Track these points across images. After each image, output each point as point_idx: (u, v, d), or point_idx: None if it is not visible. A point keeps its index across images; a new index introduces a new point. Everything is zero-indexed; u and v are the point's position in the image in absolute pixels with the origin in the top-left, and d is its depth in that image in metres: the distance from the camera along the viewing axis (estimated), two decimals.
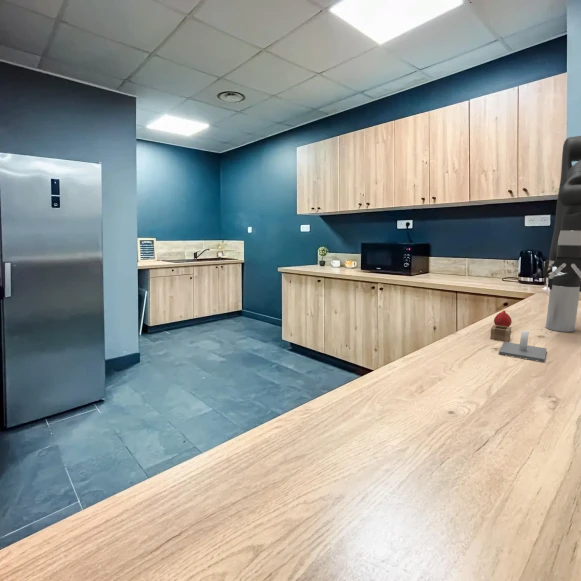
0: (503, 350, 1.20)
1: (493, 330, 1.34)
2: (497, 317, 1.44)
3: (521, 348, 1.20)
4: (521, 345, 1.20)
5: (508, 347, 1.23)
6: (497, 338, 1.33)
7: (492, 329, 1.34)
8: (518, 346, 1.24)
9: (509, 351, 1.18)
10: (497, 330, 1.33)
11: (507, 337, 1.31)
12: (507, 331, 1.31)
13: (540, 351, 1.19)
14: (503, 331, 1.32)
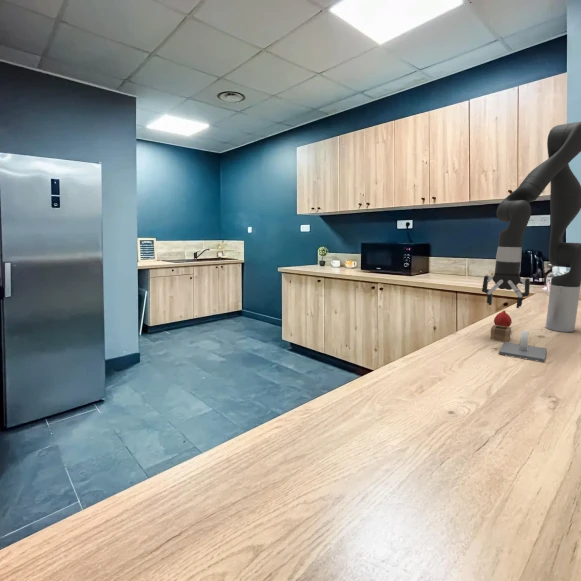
0: (503, 350, 1.20)
1: (493, 330, 1.34)
2: (497, 317, 1.44)
3: (521, 348, 1.20)
4: (521, 345, 1.20)
5: (508, 347, 1.23)
6: (497, 338, 1.33)
7: (492, 329, 1.34)
8: (518, 346, 1.24)
9: (509, 351, 1.18)
10: (497, 330, 1.33)
11: (507, 337, 1.31)
12: (507, 331, 1.31)
13: (540, 351, 1.19)
14: (503, 331, 1.32)
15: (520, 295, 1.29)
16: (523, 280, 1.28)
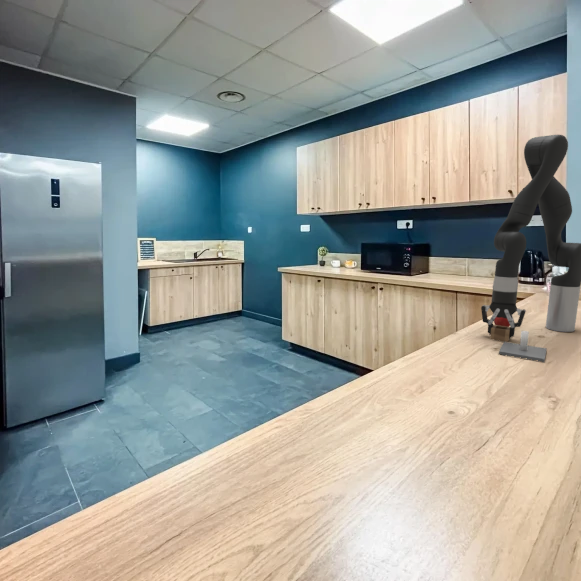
0: (503, 350, 1.20)
1: (493, 330, 1.34)
2: (497, 317, 1.44)
3: (521, 348, 1.20)
4: (521, 345, 1.20)
5: (508, 347, 1.23)
6: (497, 338, 1.33)
7: (492, 329, 1.34)
8: (518, 346, 1.24)
9: (509, 351, 1.18)
10: (497, 330, 1.33)
11: (507, 337, 1.31)
12: (507, 331, 1.31)
13: (540, 351, 1.19)
14: (503, 331, 1.32)
15: (512, 325, 1.31)
16: (519, 311, 1.30)
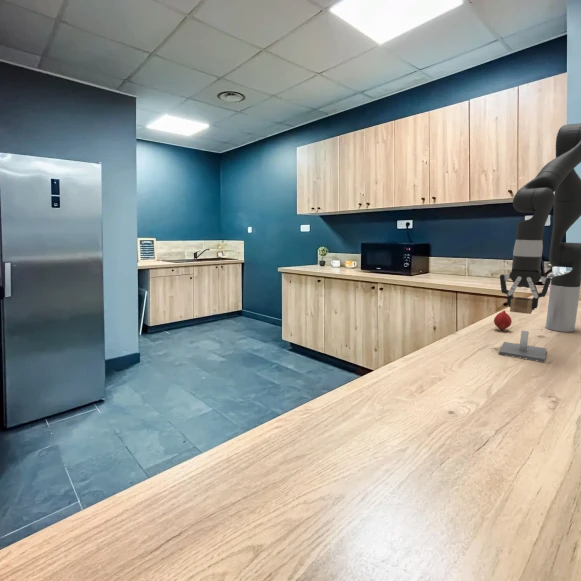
0: (503, 350, 1.20)
1: (513, 301, 1.19)
2: (497, 317, 1.44)
3: (521, 348, 1.20)
4: (521, 345, 1.20)
5: (508, 347, 1.23)
6: (518, 310, 1.18)
7: (512, 300, 1.19)
8: (518, 346, 1.24)
9: (509, 351, 1.18)
10: (518, 301, 1.18)
11: (529, 309, 1.16)
12: (530, 302, 1.16)
13: (540, 351, 1.19)
14: (525, 302, 1.17)
15: (536, 295, 1.16)
16: (544, 278, 1.15)
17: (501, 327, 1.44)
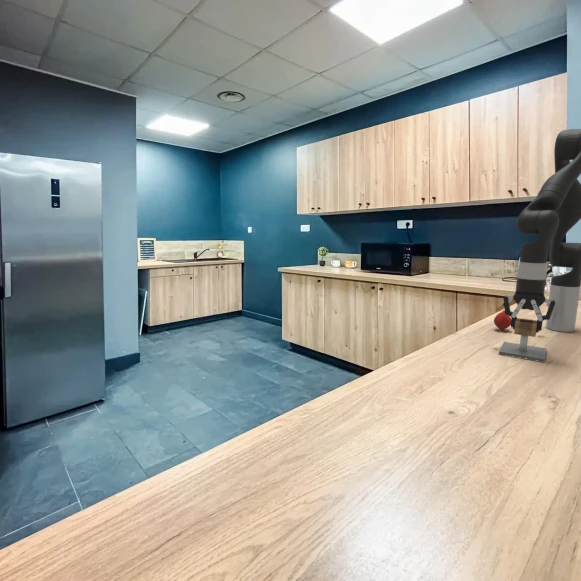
0: (503, 350, 1.20)
1: (518, 324, 1.17)
2: (497, 317, 1.44)
3: (521, 348, 1.20)
4: (521, 345, 1.20)
5: (508, 347, 1.23)
6: (522, 333, 1.17)
7: (516, 323, 1.18)
8: (518, 346, 1.24)
9: (509, 351, 1.18)
10: (522, 324, 1.17)
11: (534, 332, 1.15)
12: (534, 325, 1.15)
13: (540, 351, 1.19)
14: (529, 325, 1.16)
15: (540, 318, 1.15)
16: (548, 301, 1.14)
17: (501, 327, 1.44)
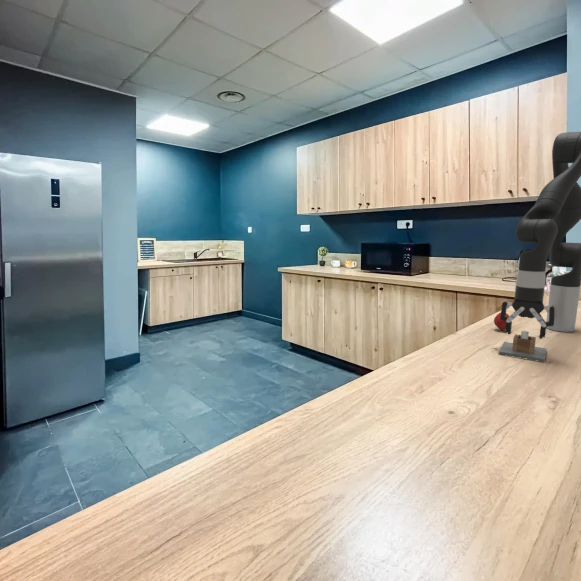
0: (503, 350, 1.20)
1: (516, 341, 1.19)
2: (497, 317, 1.44)
3: None
4: None
5: (508, 347, 1.23)
6: (520, 350, 1.18)
7: (514, 339, 1.19)
8: None
9: (509, 351, 1.18)
10: (520, 341, 1.18)
11: (532, 349, 1.16)
12: (532, 342, 1.16)
13: (540, 351, 1.19)
14: (527, 342, 1.17)
15: (544, 325, 1.15)
16: (547, 308, 1.14)
17: (501, 327, 1.44)
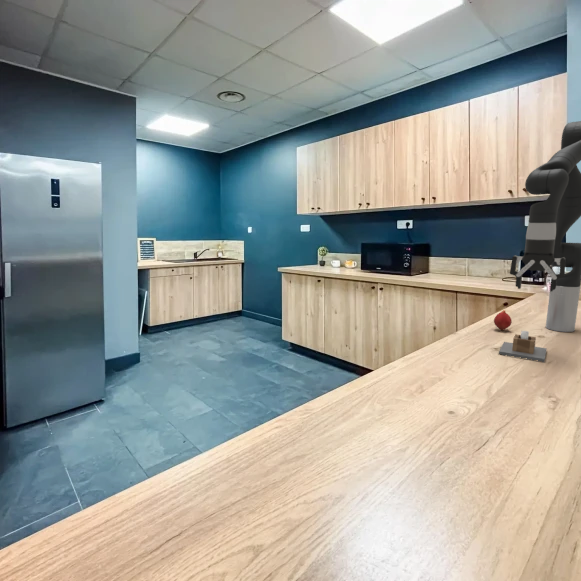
0: (503, 350, 1.20)
1: (516, 341, 1.19)
2: (497, 317, 1.44)
3: None
4: None
5: (508, 347, 1.23)
6: (520, 350, 1.18)
7: (514, 339, 1.19)
8: None
9: (509, 351, 1.18)
10: (520, 341, 1.18)
11: (532, 349, 1.16)
12: (532, 342, 1.16)
13: (540, 351, 1.19)
14: (527, 342, 1.17)
15: (554, 277, 1.15)
16: (558, 260, 1.14)
17: (501, 327, 1.44)
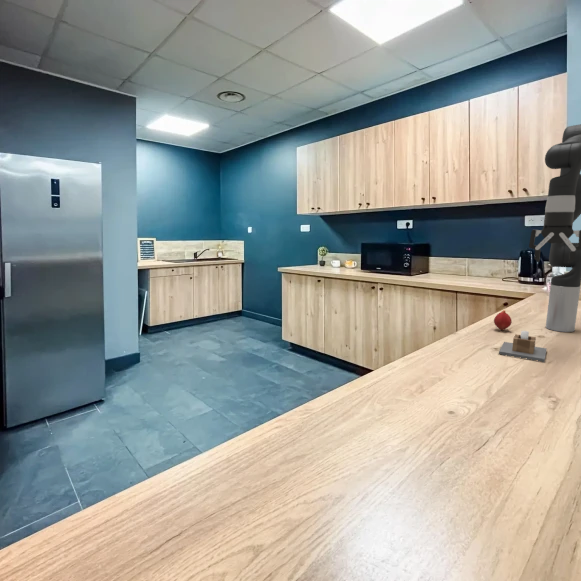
0: (503, 350, 1.20)
1: (516, 341, 1.19)
2: (497, 317, 1.44)
3: None
4: None
5: (508, 347, 1.23)
6: (520, 350, 1.18)
7: (514, 339, 1.19)
8: None
9: (509, 351, 1.18)
10: (520, 341, 1.18)
11: (532, 349, 1.16)
12: (532, 342, 1.16)
13: (540, 351, 1.19)
14: (527, 342, 1.17)
15: (573, 248, 1.18)
16: (577, 232, 1.17)
17: (501, 327, 1.44)
